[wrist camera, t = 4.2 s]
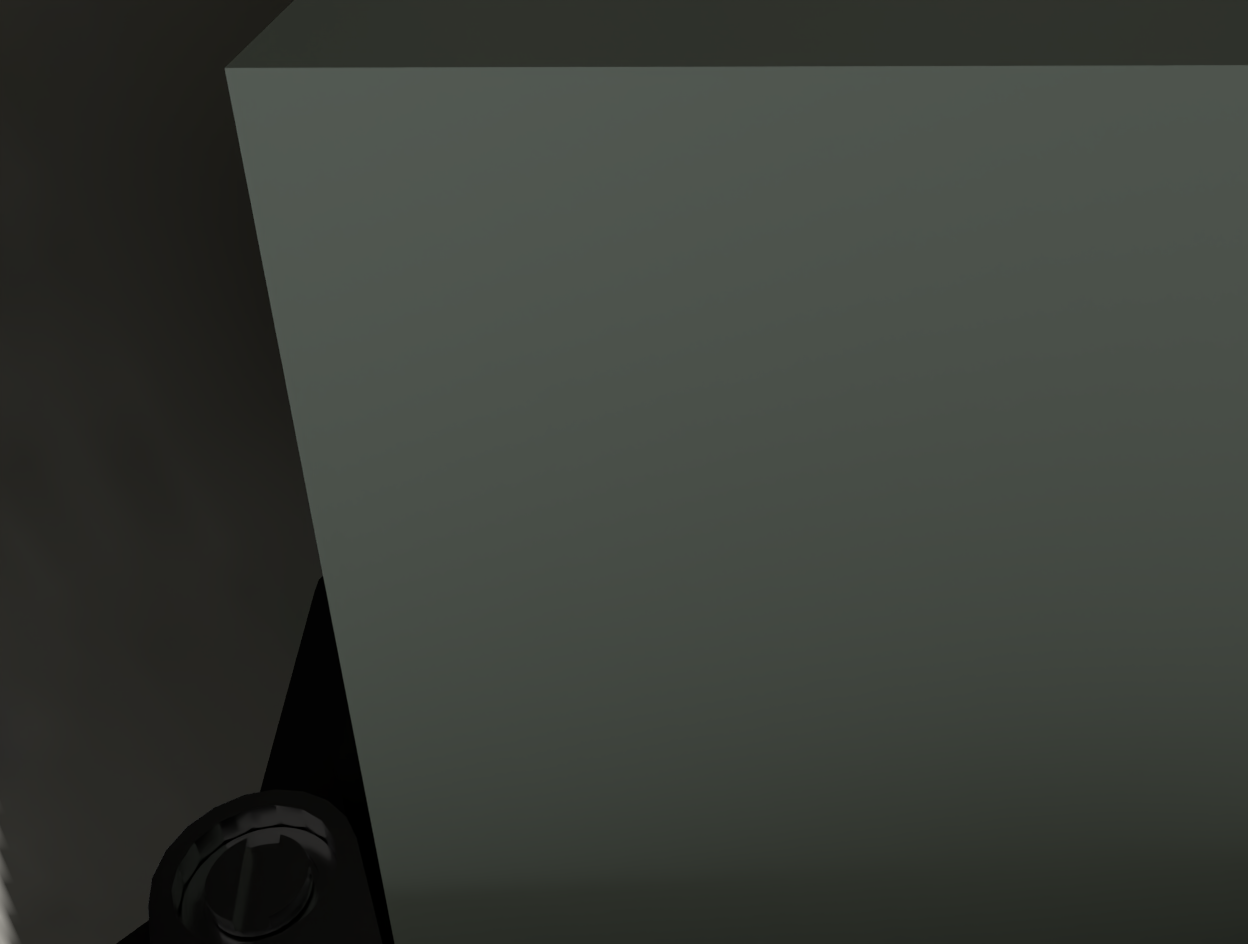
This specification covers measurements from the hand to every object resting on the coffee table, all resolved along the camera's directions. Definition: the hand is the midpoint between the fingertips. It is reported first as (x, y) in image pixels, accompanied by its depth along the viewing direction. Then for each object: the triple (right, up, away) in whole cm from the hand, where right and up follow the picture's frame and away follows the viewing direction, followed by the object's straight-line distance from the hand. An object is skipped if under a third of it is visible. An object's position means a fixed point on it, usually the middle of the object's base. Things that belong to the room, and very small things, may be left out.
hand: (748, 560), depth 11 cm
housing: (0, +1, +1) cm, 1 cm away
